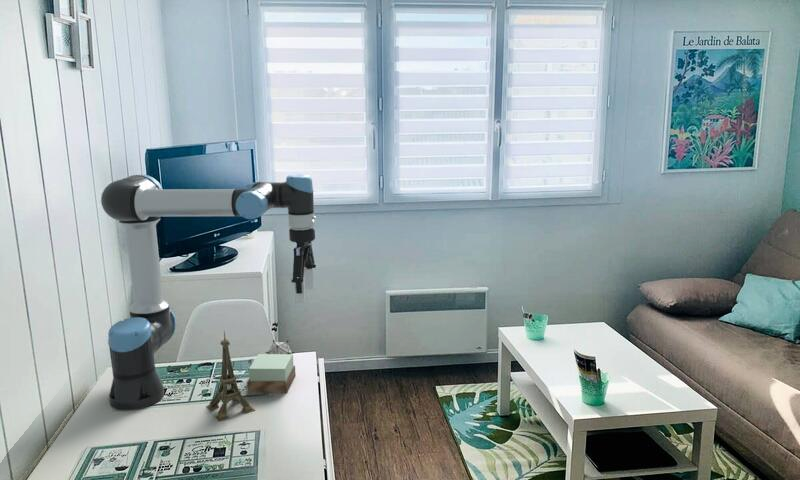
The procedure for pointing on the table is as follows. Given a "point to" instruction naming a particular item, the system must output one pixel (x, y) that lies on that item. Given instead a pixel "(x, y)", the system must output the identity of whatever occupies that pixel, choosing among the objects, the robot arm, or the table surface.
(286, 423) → the table surface
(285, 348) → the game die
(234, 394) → the eiffel tower
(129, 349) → the robot arm
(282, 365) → the top block
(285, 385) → the base block
